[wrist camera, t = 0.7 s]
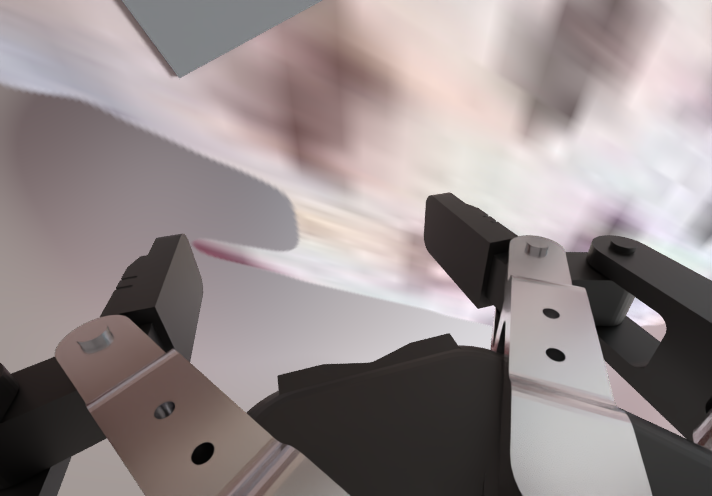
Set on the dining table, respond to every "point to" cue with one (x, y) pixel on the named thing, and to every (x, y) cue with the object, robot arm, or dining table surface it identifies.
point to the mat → (207, 26)
